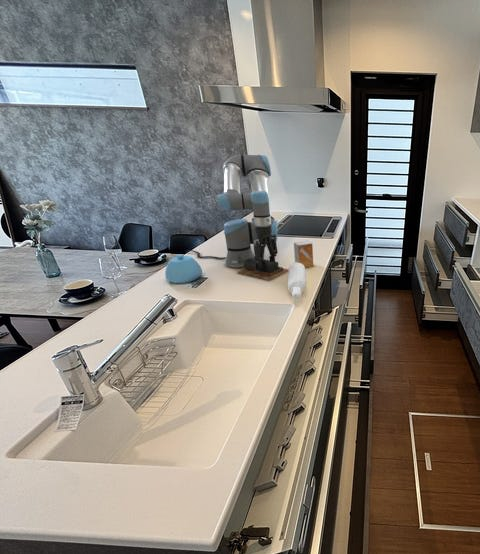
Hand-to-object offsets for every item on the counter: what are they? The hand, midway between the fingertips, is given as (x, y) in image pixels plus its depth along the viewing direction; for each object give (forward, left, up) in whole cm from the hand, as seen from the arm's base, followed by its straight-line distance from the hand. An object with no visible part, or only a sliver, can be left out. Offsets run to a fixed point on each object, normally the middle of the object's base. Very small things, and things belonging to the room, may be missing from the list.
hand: (268, 270), depth 152 cm
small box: (+9, +17, -2) cm, 20 cm away
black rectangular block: (0, 0, 0) cm, 0 cm away
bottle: (+16, +3, +2) cm, 16 cm away
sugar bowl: (-31, -23, -2) cm, 38 cm away
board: (-4, 0, -1) cm, 4 cm away
